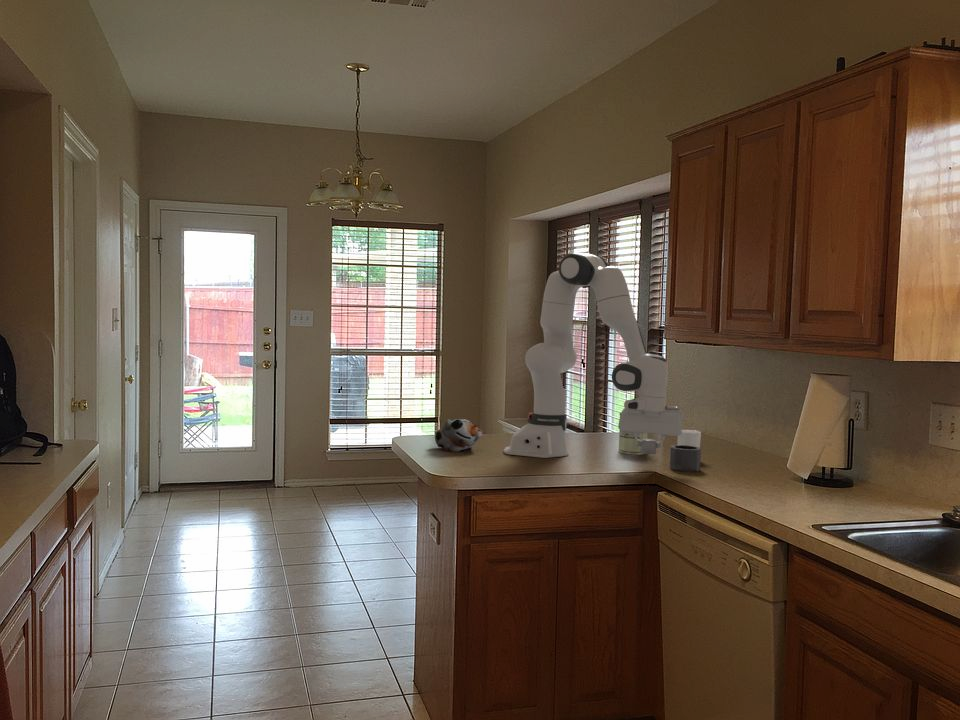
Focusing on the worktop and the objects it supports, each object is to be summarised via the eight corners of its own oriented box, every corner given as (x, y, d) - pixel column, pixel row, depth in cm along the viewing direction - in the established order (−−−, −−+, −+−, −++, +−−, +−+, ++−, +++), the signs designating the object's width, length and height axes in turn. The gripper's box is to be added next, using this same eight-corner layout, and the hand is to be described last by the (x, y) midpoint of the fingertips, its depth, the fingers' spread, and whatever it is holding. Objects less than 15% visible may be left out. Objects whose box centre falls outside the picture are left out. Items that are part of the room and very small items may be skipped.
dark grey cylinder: (670, 470, 269) (671, 448, 269) (669, 465, 278) (670, 444, 278) (700, 472, 267) (701, 450, 267) (698, 467, 276) (699, 446, 276)
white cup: (700, 462, 285) (701, 433, 285) (676, 461, 287) (677, 432, 286) (699, 458, 293) (700, 430, 293) (675, 457, 295) (677, 429, 294)
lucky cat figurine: (472, 446, 305) (485, 414, 299) (472, 464, 294) (486, 432, 288) (433, 433, 302) (446, 402, 296) (432, 452, 291) (445, 419, 286)
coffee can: (617, 449, 308) (618, 411, 307) (645, 450, 307) (647, 412, 306) (619, 454, 298) (620, 414, 297) (648, 455, 297) (650, 415, 296)
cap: (640, 453, 269) (641, 440, 269) (640, 450, 274) (641, 438, 274) (655, 454, 268) (656, 442, 268) (655, 451, 273) (656, 439, 273)
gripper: (684, 406, 271) (680, 448, 272) (620, 400, 275) (617, 442, 276) (685, 408, 265) (681, 451, 266) (619, 403, 269) (616, 445, 270)
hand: (648, 447), depth 271 cm, fingers closed on cap, 5 cm apart
